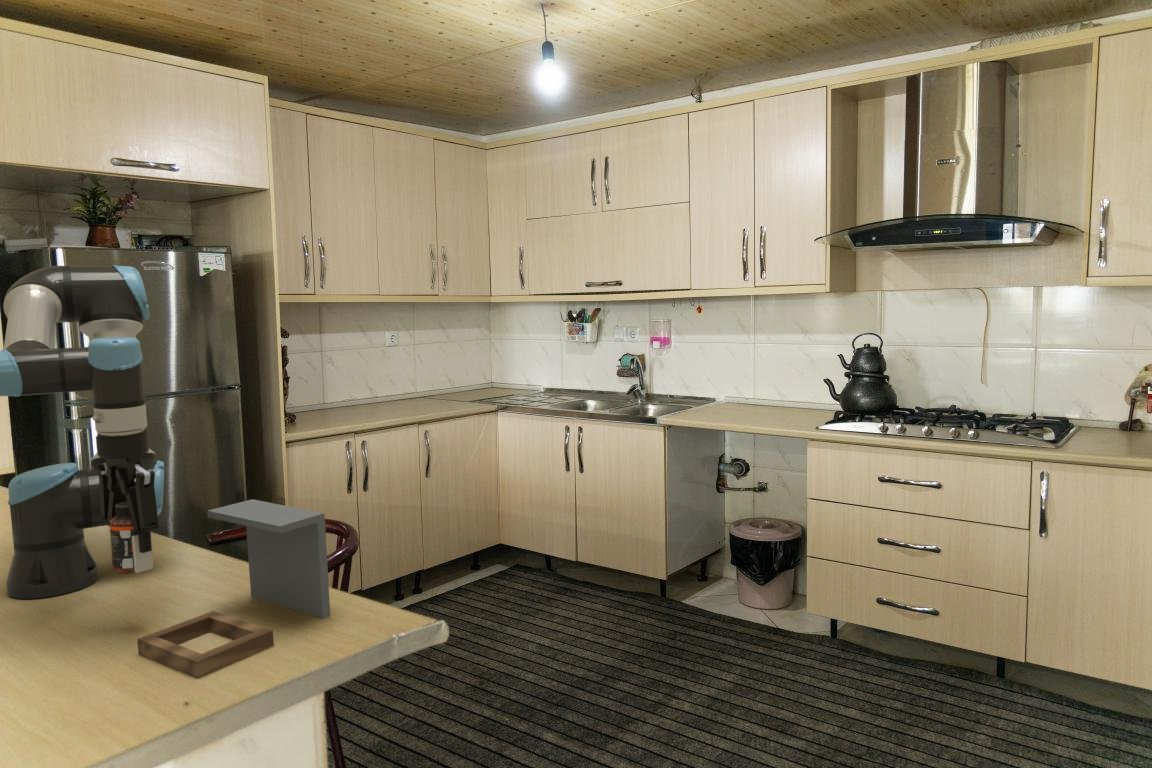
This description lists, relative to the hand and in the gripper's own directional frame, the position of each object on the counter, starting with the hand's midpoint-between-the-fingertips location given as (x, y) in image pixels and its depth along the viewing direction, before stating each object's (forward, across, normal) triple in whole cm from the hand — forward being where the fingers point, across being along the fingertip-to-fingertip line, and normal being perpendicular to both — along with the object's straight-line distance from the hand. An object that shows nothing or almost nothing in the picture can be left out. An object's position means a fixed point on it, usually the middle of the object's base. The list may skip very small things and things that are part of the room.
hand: (133, 566), depth 138 cm
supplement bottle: (+1, 0, 0) cm, 1 cm away
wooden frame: (+10, +19, +1) cm, 21 cm away
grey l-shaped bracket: (+11, +15, +16) cm, 24 cm away
